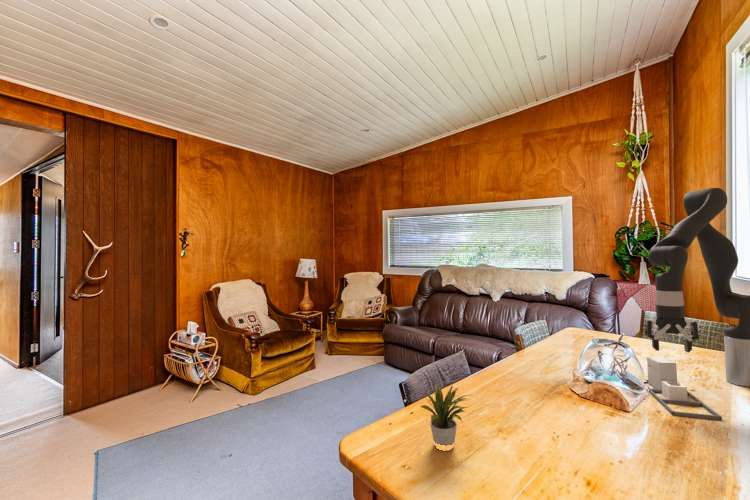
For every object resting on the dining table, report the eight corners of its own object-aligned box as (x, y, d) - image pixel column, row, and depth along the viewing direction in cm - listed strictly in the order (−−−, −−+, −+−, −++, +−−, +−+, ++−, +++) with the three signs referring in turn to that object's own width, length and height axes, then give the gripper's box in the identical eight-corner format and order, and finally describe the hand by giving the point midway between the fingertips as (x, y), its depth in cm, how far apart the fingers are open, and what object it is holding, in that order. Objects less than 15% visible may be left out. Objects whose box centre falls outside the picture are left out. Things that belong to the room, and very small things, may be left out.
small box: (678, 392, 125) (676, 363, 125) (660, 392, 126) (659, 362, 126) (664, 384, 133) (663, 356, 133) (647, 384, 134) (646, 356, 134)
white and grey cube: (662, 395, 123) (661, 380, 123) (679, 396, 122) (678, 381, 122) (669, 401, 118) (669, 385, 119) (687, 402, 117) (686, 386, 117)
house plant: (461, 470, 83) (458, 401, 84) (409, 455, 91) (407, 391, 91) (478, 443, 95) (475, 382, 96) (430, 431, 103) (428, 375, 103)
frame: (637, 381, 137) (637, 379, 137) (676, 384, 132) (675, 382, 132) (672, 414, 108) (671, 411, 108) (721, 420, 104) (721, 416, 104)
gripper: (690, 302, 122) (692, 349, 122) (640, 302, 127) (642, 347, 127) (701, 305, 115) (703, 355, 115) (648, 304, 120) (650, 352, 120)
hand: (671, 350), depth 121 cm, fingers open, 8 cm apart
